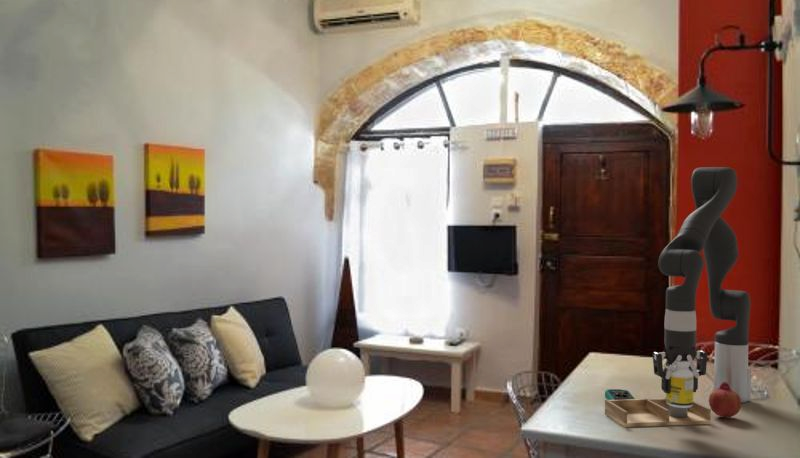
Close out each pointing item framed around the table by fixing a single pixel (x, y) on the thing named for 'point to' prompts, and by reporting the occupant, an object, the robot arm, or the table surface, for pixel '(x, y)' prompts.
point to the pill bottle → (681, 386)
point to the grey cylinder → (678, 412)
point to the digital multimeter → (618, 394)
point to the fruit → (725, 401)
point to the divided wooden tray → (653, 413)
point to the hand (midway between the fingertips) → (679, 392)
